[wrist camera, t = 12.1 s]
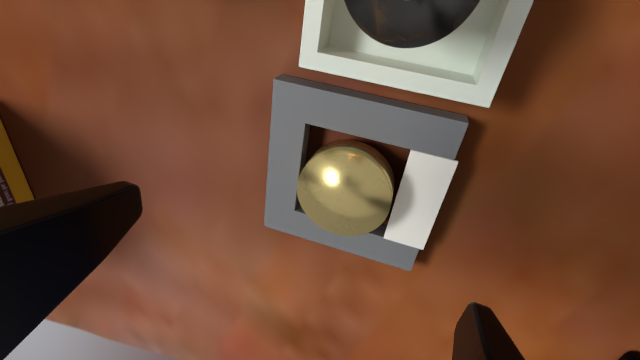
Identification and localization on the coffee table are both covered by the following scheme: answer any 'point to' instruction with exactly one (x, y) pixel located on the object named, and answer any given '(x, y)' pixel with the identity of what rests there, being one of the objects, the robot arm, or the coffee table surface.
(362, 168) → the brass plunger
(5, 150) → the supplement box
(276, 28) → the coffee table surface
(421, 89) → the trough
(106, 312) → the coffee table surface
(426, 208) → the grey square tray
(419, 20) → the copper cell
